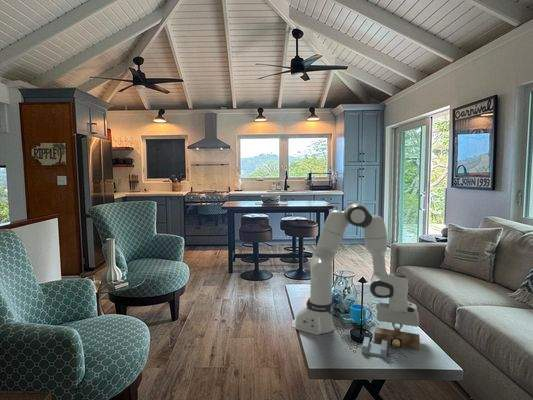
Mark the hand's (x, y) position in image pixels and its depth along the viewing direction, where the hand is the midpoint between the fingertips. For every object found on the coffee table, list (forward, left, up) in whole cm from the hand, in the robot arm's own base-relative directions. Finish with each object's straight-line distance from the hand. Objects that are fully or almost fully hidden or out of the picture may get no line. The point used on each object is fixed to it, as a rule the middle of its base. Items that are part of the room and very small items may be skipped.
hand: (397, 331), depth 175 cm
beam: (0, -9, -2) cm, 9 cm away
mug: (-19, +10, -2) cm, 21 cm away
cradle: (-9, -20, -2) cm, 22 cm away
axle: (0, -8, -2) cm, 8 cm away
